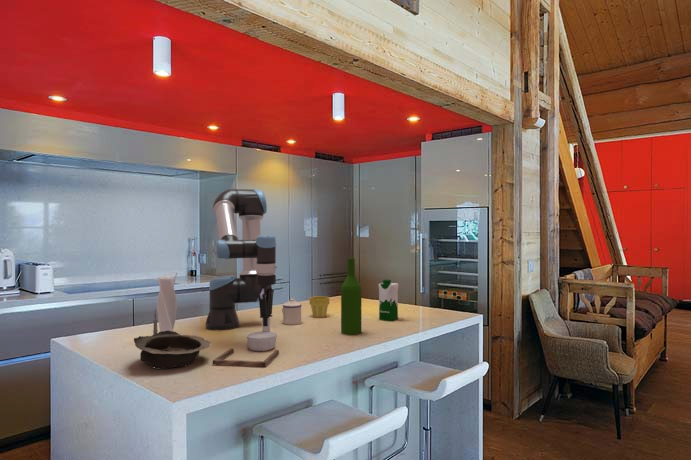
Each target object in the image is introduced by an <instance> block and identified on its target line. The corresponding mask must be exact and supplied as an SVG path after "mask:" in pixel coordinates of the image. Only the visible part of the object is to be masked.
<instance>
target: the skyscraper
mask: <svg viewBox="0 0 691 460" xmlns="http://www.w3.org/2000/svg"><path fill="white" fill-rule="evenodd" d="M170 274H175V275H174V277H171V275H170ZM177 276H178V271H169V272H167V273H165V274H164V276H160V277H158V278H157V281H158V285H159V291H158V296H157V303H156V305H157V306H156V307H157V309H154V319H153V330H152V332H153V333H152V335H154V334H156V333H158V332H161V331H173V332H175V331H174V328H175V323H176V318H177V311H178V310H177V309H178V305H177V295H176V292H175V284H176V278H177ZM158 327H159V330H160V331H158Z"/></svg>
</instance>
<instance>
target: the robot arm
mask: <svg viewBox="0 0 691 460" xmlns="http://www.w3.org/2000/svg"><path fill="white" fill-rule="evenodd" d="M267 207H268V206H267V199H266V195H265V193H264V191H262V190H261V189H249V188H248V189H244V188H243V189H242V188H239V189H237V188H230V189H227V190H224V191H222V192H220V194H218V195H217V197H216V198H215V199H214V202H213V206H212V208H213V209H212V210H213V214H214V215H215V217H216V222H217V230H218V238H219V239H218V240H216V242H215V257H216V258H218V259H224V260H228V259H229V260H231V259H242V271H241V272H240V273H239V277H238V278H237V277H236V275H233V274H232V275H228V274H227V275H222V276H217V277H214V278H212V279H210V280H209V286H208V287H209V288H208V290H209V307H208V308H209V311H208V314H207V316H206V320H205V328H206V329H207V330H214V331H221V330H222V331H224V330H232V329H235V328H238V327H240V320H239V317H238V313H237V311H236V304H243V303H244V304H246V303H247V304H248V303H258V304H259V315H260V316H259V318H260V319H262V321H261V322H262V324H261V327H262V331H268V332H271V317H273V301H274V292H275V291H274V289H273V288H272V286H273V285H275V284H276V283H277V282H276V281H277V277H276V274H275V273H276V271H277V270H276V269H277V268H278V265H277V262H276V254H277V252H276V251H277V250H276V248H277V247H276V246H277V243H276V242H277V240H276V236H275V235H273V234H272V235H271V234H269V235H268V234H267V235H266V234H263V235H262V234H261V220H262V219H263V218H264V215H265V214H266V213H267V210H268V208H267ZM235 214H238V218H239V220H241V225H242V227H241V229H242V231H241V232H242V233H241V234H242V235H241V236H242V239H239V236H238V230H237V225H236V220H235ZM262 331H261V332H262Z"/></svg>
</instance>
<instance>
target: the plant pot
mask: <svg viewBox="0 0 691 460" xmlns="http://www.w3.org/2000/svg"><path fill="white" fill-rule="evenodd" d="M308 303H309V305H310V309H311V312H312V317H314V318H325V317H327V314H328V313H327V312H328V307H329V305H330V296H323V295H321V296H318V295H317V296H311V297H309V301H308Z"/></svg>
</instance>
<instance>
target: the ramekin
mask: <svg viewBox="0 0 691 460" xmlns="http://www.w3.org/2000/svg"><path fill="white" fill-rule="evenodd" d="M246 339H247V345H248V348H249V350H251V351H253V352H265V351H271V350H272V349H274V348H275V346H276V339H277V333H276V332H273V331H270V332H268V331H255V332H250V333H248V334H246Z"/></svg>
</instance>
